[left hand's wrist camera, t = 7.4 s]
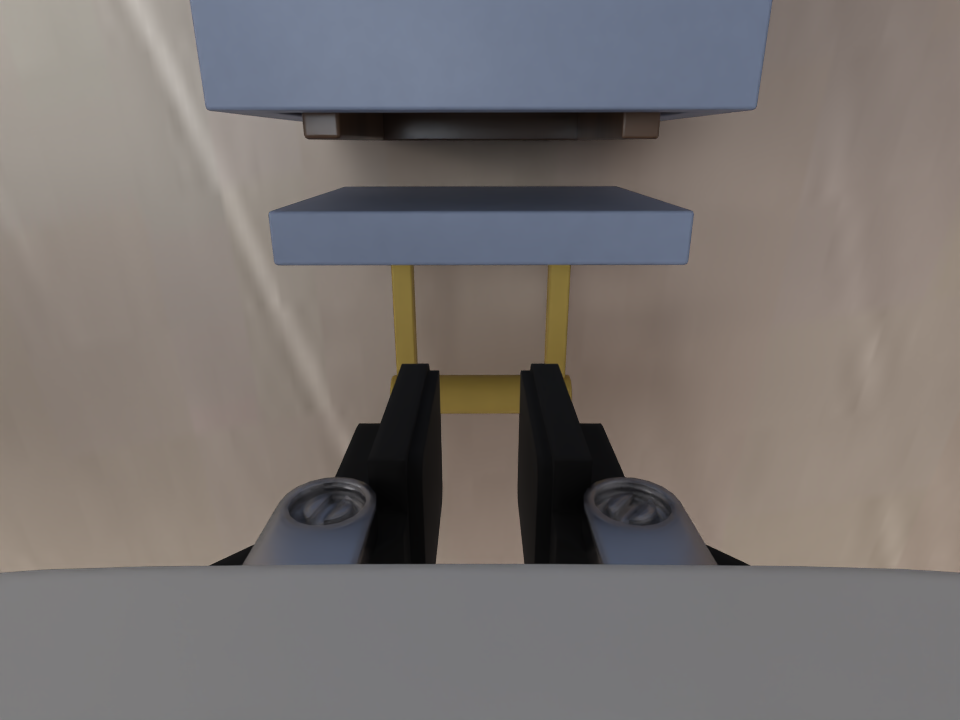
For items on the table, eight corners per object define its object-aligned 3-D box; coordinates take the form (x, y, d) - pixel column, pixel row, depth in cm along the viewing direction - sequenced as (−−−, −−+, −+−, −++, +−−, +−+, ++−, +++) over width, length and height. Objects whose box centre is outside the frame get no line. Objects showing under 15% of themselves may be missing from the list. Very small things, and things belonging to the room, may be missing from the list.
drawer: (604, 370, 22) (662, 478, 15) (357, 370, 22) (299, 479, 15) (666, -449, 15) (844, -1010, 8) (293, -448, 15) (116, -1009, 8)
